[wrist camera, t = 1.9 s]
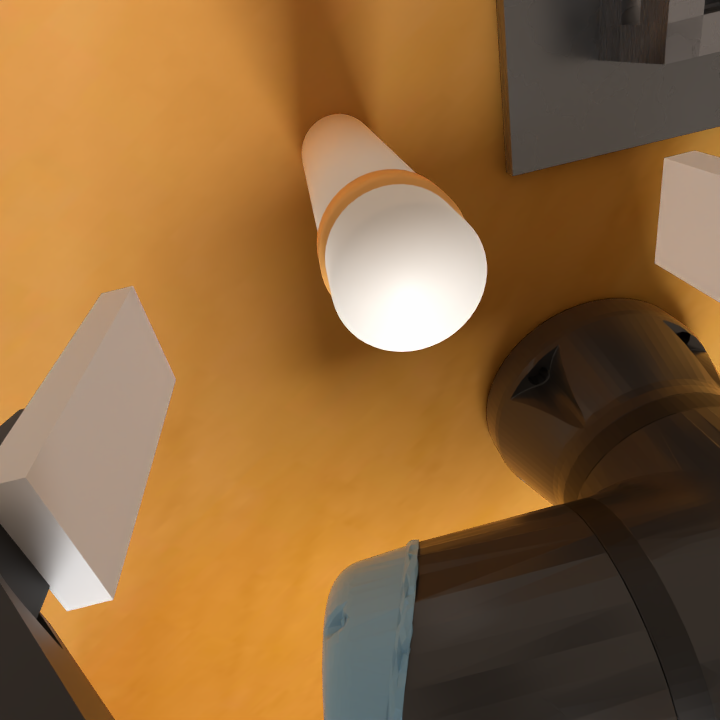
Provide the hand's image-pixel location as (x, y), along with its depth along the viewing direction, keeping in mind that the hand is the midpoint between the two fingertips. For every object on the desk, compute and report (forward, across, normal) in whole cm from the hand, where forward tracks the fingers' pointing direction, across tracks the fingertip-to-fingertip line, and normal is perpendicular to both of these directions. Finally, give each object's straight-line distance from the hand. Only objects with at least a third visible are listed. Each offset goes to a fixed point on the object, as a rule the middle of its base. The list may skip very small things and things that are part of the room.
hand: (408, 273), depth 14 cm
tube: (+18, 0, 0) cm, 18 cm away
